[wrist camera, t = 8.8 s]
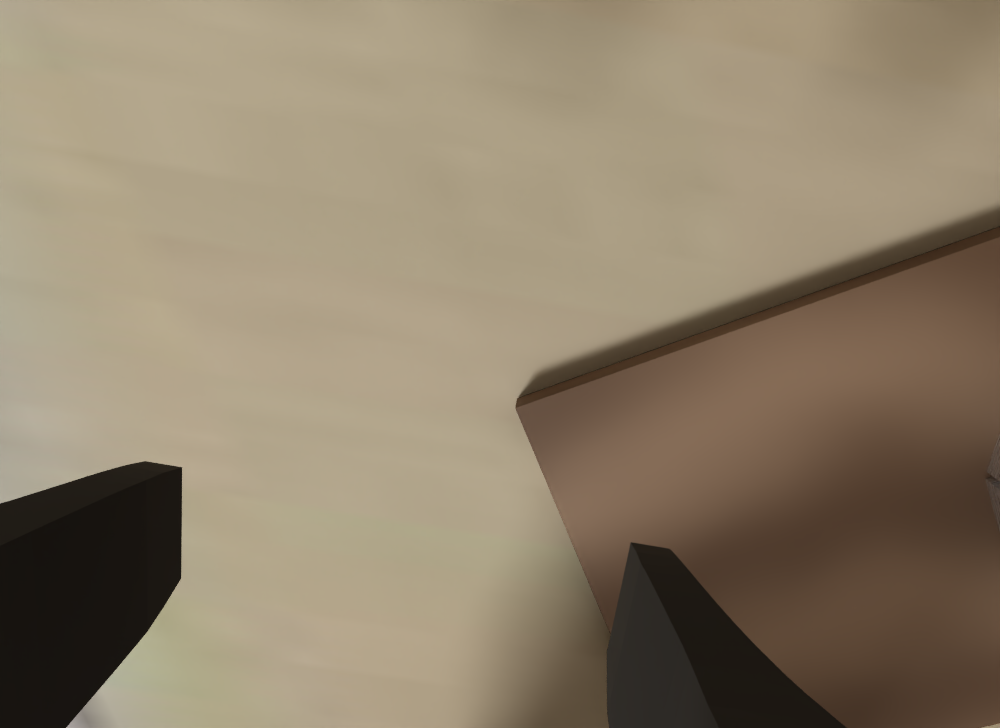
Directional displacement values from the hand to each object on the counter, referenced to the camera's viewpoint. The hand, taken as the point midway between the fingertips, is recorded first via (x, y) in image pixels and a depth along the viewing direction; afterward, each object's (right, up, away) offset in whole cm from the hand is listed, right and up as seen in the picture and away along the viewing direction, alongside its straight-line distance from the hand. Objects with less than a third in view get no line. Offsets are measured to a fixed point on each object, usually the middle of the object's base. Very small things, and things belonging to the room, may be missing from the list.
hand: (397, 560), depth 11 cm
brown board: (+14, -1, +9) cm, 17 cm away
